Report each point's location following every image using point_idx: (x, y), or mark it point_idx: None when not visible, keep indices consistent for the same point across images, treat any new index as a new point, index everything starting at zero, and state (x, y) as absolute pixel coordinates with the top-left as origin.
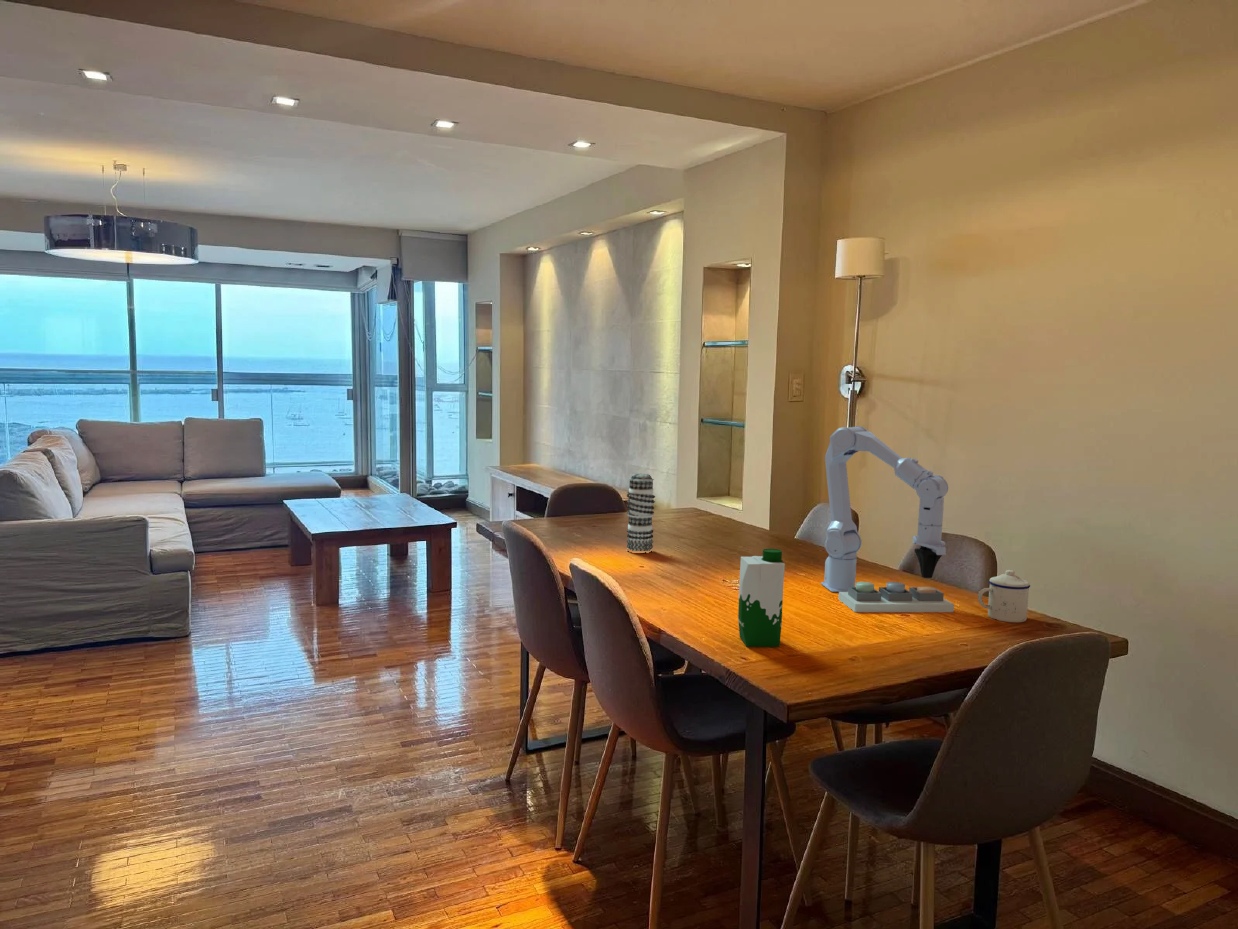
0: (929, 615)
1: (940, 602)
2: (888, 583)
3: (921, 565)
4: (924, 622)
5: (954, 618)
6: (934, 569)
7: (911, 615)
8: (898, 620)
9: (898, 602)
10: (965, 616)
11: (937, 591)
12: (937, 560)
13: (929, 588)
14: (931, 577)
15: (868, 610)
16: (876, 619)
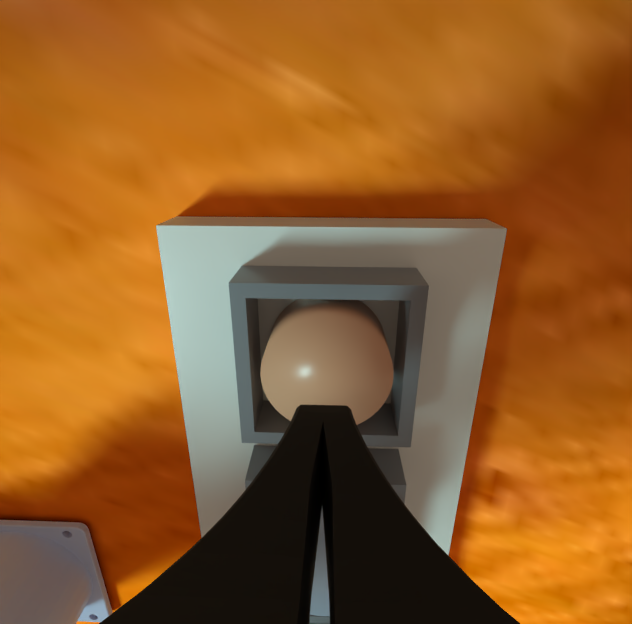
0: (520, 384)
1: (449, 303)
2: (312, 608)
3: (310, 589)
4: (628, 457)
5: (610, 278)
6: (368, 453)
7: (502, 463)
8: (565, 539)
9: (418, 519)
10: (590, 185)
11: (351, 298)
12: (447, 569)
13: (313, 349)
14: (351, 412)
15: None
16: (530, 600)
